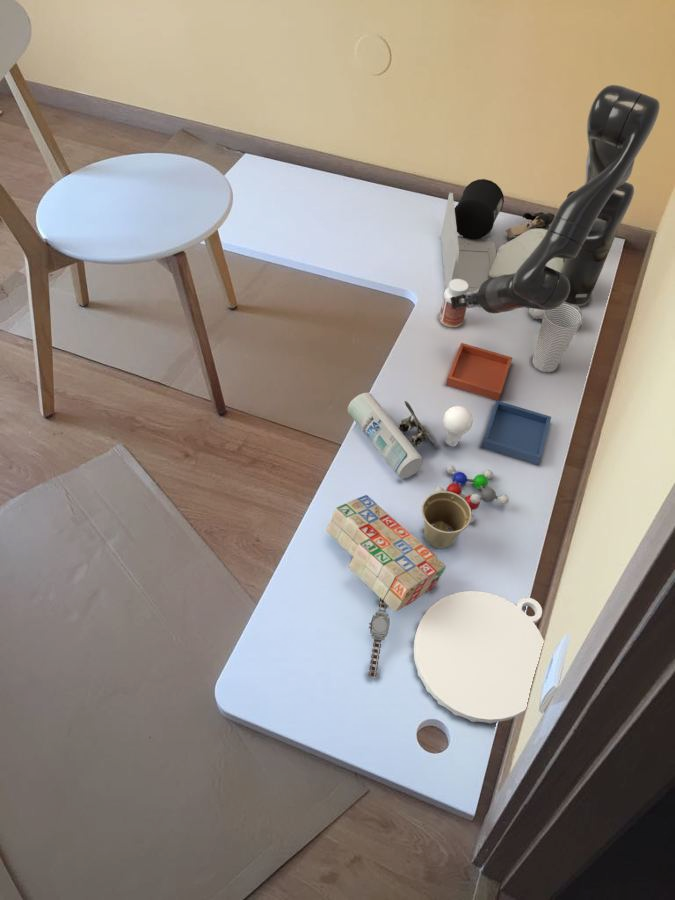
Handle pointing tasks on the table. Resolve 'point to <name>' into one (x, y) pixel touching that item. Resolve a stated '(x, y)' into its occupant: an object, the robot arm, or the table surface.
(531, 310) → the decorative stone
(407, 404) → the decorative picture frame
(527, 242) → the grey flat irregular slab
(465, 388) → the red tray
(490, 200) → the container
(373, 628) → the wristwatch
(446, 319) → the pill bottle
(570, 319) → the cup
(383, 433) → the spray can
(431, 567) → the stack of blocks
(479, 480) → the molecule model
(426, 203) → the table surface
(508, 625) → the medallion
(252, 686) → the table surface
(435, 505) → the flower pot
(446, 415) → the lightbulb
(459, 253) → the game console
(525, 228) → the toy figure
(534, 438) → the blue tray
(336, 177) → the table surface
